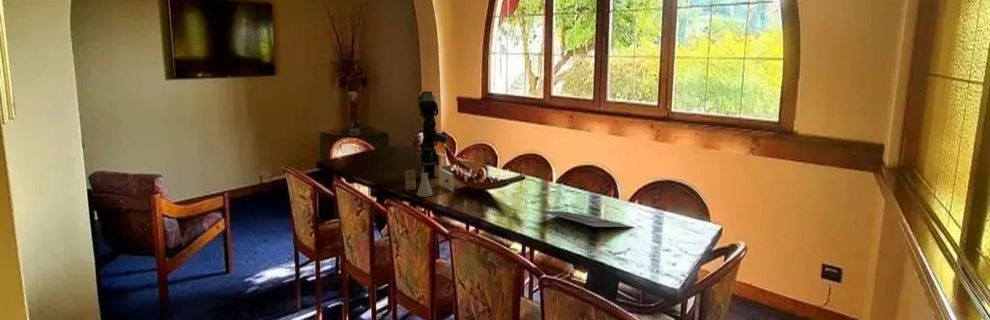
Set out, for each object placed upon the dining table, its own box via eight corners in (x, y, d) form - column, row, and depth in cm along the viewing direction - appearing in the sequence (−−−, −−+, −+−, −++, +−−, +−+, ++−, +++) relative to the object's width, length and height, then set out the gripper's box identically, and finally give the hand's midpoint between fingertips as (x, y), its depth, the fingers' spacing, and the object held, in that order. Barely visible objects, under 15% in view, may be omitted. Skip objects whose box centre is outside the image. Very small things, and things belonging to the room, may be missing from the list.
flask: (413, 196, 275) (412, 174, 273) (422, 192, 281) (422, 170, 279) (427, 198, 272) (426, 176, 269) (436, 194, 278) (435, 172, 276)
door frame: (405, 189, 286) (404, 170, 284) (450, 183, 296) (450, 164, 294) (406, 190, 284) (406, 171, 282) (452, 184, 294) (452, 165, 292)
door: (438, 185, 291) (437, 169, 289) (443, 184, 292) (442, 168, 291) (448, 191, 281) (447, 174, 279) (453, 190, 282) (453, 174, 280)
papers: (574, 218, 254) (575, 209, 254) (634, 234, 232) (635, 224, 232) (532, 217, 238) (534, 208, 238) (593, 234, 216) (595, 224, 216)
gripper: (444, 130, 273) (445, 165, 276) (448, 124, 291) (449, 156, 294) (419, 130, 273) (420, 165, 276) (424, 124, 291) (425, 157, 295)
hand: (430, 161), depth 285 cm, fingers open, 9 cm apart
